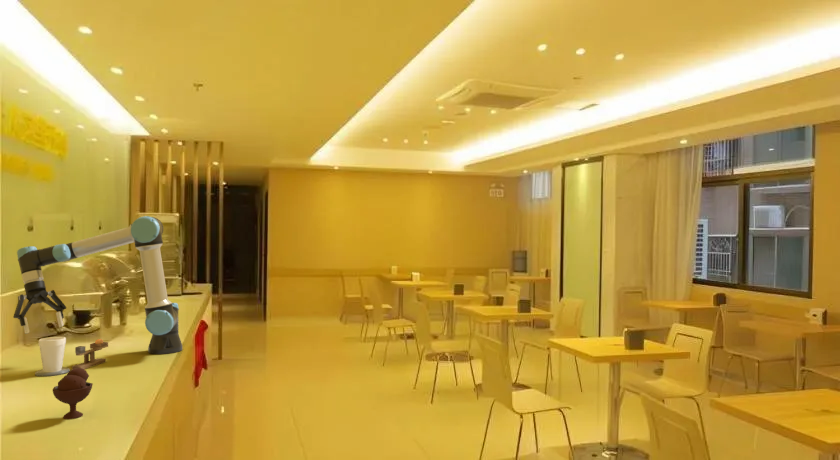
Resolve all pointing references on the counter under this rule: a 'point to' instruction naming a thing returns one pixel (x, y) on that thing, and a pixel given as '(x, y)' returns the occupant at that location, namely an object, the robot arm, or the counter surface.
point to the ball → (99, 341)
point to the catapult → (93, 347)
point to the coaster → (42, 373)
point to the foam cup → (52, 353)
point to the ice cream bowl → (73, 390)
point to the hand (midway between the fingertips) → (44, 329)
